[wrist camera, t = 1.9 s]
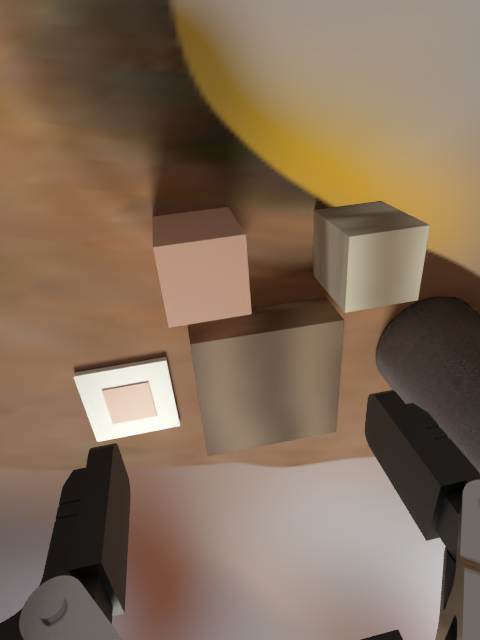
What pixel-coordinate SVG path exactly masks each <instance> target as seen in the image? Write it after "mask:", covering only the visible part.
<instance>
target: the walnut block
mask: <svg viewBox="0 0 480 640" xmlns="http://www.w3.org/2000/svg"><path fill="white" fill-rule="evenodd" d="M251 312H252V314H250V315H244V316H238V317H232V318H226V319H219V320H213V321H207V322H201V323H195V324H189V325H188V331H189V338H190V345H191V351H192V358H193V364H194V371H195V377H196V384H197V390H198V397H199V403H200V409H201V416H202V422H203V429H204V435H205V442H206V448H207V455H208V456H213V455H218V454H223V453H228V452H233V451H238V450H244V449H249V448H254V447H259V446H264V445H269V444H275V443H280V442H285V441H290V440H295V439H300V438H306V437H311V436H316V435H321V434H326V433H331V432H336V427H337V413H338V399H339V386H340V372H341V358H342V344H343V331H344V319H343V318H342V317H341V316H340V314H339V313H338V312H337V311H336V309H335V308H334V307H333V306H332V305H331V303H330V302H329V301H328V300H327V299H326V298H320V299H313V300H307V301H300V302H294V303H287V304H280V305H274V306H267V307H260V308H254V309H251Z"/></svg>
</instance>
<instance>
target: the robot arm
mask: <svg viewBox="0 0 480 640" xmlns="http://www.w3.org/2000/svg"><path fill="white" fill-rule="evenodd" d="M365 435H366V439H367V442H368V444H369V447H370V448H371V450H372V452H373V453H374V455H375V457H376V458H377V460H378V462H379V463H380V465H381V466H382V468H383V470H384V471H385V473H386V475H387V476H388V478H389V480H390V481H391V483H392V485H393V486H394V488H395V489H396V491H397V493H398V494H399V496H400V498H401V499H402V501H403V503H404V504H405V506H406V508H407V509H408V511H409V513H410V514H411V516H412V518H413V519H414V521H415V522H416V524H417V525H418V527H419V529H420V530H421V532H422V534H423V536H424V537H425V539H426V540H431V539H435V538H439V537H440V538H441V540H442V541H443V543H444V544H445V546H446V547H445V551H444V563H443V577H442V591H441V605H440V617H439V624H438V629H437V634H436V640H480V473H479V472H478V470H477V469H476V468H475V467H474V466H473V465H472V463H471V462H470V461H469V460H468V459H467V458H466V456H465V455H464V454H463V453H462V452H461V451H460V449H459V448H458V447H457V446H456V445H455V443H454V442H453V441H452V440H451V439H450V438H448V435H447V434H446V433H445V432H444V431H443V429H442V428H440V427H439V425H438V424H437V422H436V421H435V420H434V419H433V418H432V416H431V415H430V414H429V413H428V412H426V411H425V410H423V409H422V408H420V407H419V406H417V405H415V404H414V403H409V404H405V402H404V401H403V400H402V399H401V397H400V396H399V395H398V394H397V393H396V392H395V391H394V390H390V391H385V392H379V393H374V394H370V395H369V397H368V403H367V412H366V422H365ZM129 514H130V484H129V479H128V475H127V472H126V469H125V466H124V463H123V460H122V457H121V454H120V451H119V448H118V445H117V444H116V443H114V444H109V445H104V446H99V447H94V448H91V449H90V450H89V454H88V459H87V465H86V468H82V469H77V470H73V472H72V473H71V475H70V476H69V478H68V479H67V481H66V482H65V484H64V486H63V488H62V493H61V497H60V502H59V507H58V511H57V516H56V522H55V524H54V529H53V533H52V538H51V542H50V547H49V551H48V556H47V561H46V565H45V569H44V575H43V578H42V581H41V583H40V586H39V587H38V588H37V589H36V590H35V591H34V592H33V593H32V594H31V595H30V597H29V598H28V600H27V601H26V603H25V605H24V607H23V608H22V609H21V610H20V611H19V612H18V613H16V614H15V615H14V616H12V617H10V618H9V619H7V620H5V621H4V622H2V623H0V640H123V639H122V638H121V636H120V635H119V634H118V632H117V631H116V630H115V628H114V627H113V626H112V616H116V615H120V614H124V612H125V592H126V573H127V553H128V532H129ZM362 640H403V639H402V637H401V635H400V633H399V630H394V631H391V632H387V633H384V634H380V635H376V636H372V637H369V638H365V639H362Z"/></svg>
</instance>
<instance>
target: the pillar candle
mask: <svg viewBox="0 0 480 640" xmlns="http://www.w3.org/2000/svg"><path fill="white" fill-rule="evenodd" d="M376 363H377V367H378V370H379V372H380V373H381V375H382V376H383V378H384V379H385V380H386V382H387V383H388V384H389V386H390V387H391V388H392V390H394V391H395V392H396V393H397V394H398V395H399V396H400V397H401V399H402V400H403V401H404V402H405V404H409V403H414V404H415V405H417V406H419V407H420V408H422V409H423V410H425V411H426V412H428V413H429V414H430V415H431V416H432V418H433V419H434V420H435V421H436V422H437V424H438V425H439V427H440V428H442V429H443V431H444V432H445V433H446V434H447V435H448V438H450V439H451V440H452V441H453V442H454V443H455V445H456V446H457V447H458V448H459V449H460V451H461V452H462V453H463V454H464V455H465V456H466V458H467V459H468V460H469V461H470V462H471V463H472V465H473V466H474V467H475V468H476V469H477V470H478V472H479V473H480V314H479V313H478V312H476V311H475V310H473V309H472V308H471V307H470V306H469V305H468V304H467V303H466V302H464V301H463V300H461V299H459V298H456V297H451V298H450V297H435V298H430V299H426V300H423V301H420V302H418V303H416V304H414V305H412V306H411V307H409V308H407V309H405V310H404V311H403V312H401V313H400V314H399V315H398V316H396V317H395V319H394V320H393V321H391V323H390V324H389V326H388V327H387V328H386V329H385V331H384V333H383V334H382V336H381V338H380V340H379V343H378V346H377V351H376Z"/></svg>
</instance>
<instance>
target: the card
mask: <svg viewBox="0 0 480 640" xmlns="http://www.w3.org/2000/svg"><path fill="white" fill-rule="evenodd" d="M73 377H74V380H75V383H76V385H77V388H78V391H79V394H80V396H81V399H82V402H83V405H84V407H85V410H86V413H87V416H88V418H89V421H90V424H91V426H92V429H93V432H94V435H95V437H96V440H97V442H100V441H105V440H110V439H116V438H121V437H126V436H131V435H136V434H141V433H147V432H152V431H157V430H162V429H167V428H172V427H178V426H180V420H179V416H178V411H177V406H176V401H175V397H174V392H173V387H172V382H171V378H170V373H169V368H168V363H167V359H166V357H162V358H156V359H150V360H145V361H139V362H133V363H127V364H121V365H116V366H110V367H104V368H98V369H92V370H87V371H81V372H75V373H74V376H73Z"/></svg>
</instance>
